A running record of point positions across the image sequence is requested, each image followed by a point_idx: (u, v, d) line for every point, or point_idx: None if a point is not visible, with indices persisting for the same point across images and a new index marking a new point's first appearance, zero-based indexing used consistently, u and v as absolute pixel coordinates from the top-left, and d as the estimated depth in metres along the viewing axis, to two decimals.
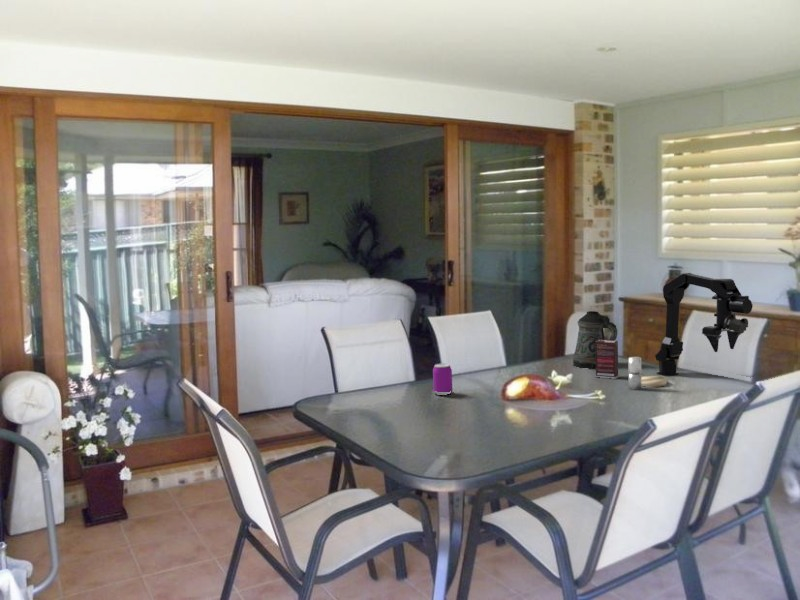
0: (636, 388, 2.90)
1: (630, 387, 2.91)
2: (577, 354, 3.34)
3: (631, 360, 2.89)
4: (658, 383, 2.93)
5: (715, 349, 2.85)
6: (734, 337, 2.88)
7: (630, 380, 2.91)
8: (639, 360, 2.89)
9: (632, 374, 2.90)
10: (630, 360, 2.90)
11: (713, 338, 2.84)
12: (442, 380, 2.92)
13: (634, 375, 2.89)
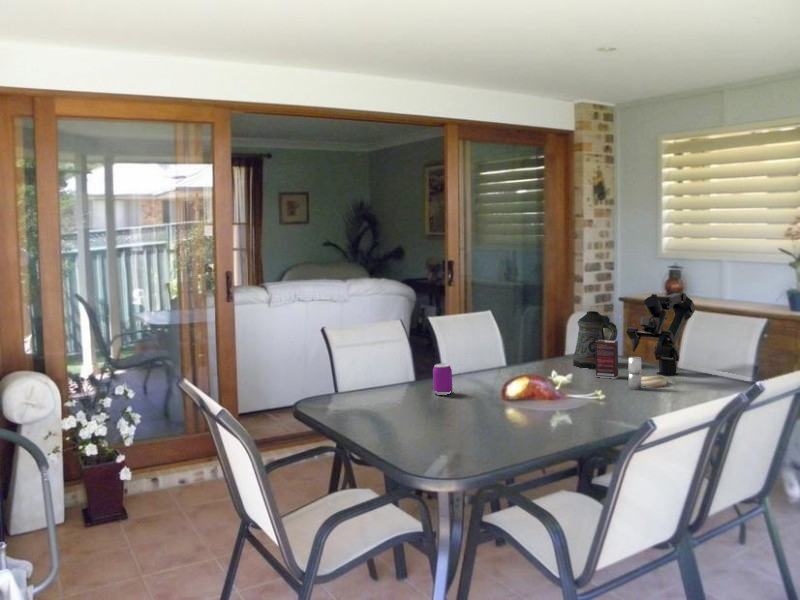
0: (636, 388, 2.90)
1: (630, 387, 2.91)
2: (577, 354, 3.34)
3: (631, 360, 2.89)
4: (658, 383, 2.93)
5: None
6: None
7: (630, 380, 2.91)
8: (639, 360, 2.89)
9: (632, 374, 2.90)
10: (630, 360, 2.90)
11: None
12: (442, 380, 2.92)
13: (634, 375, 2.89)
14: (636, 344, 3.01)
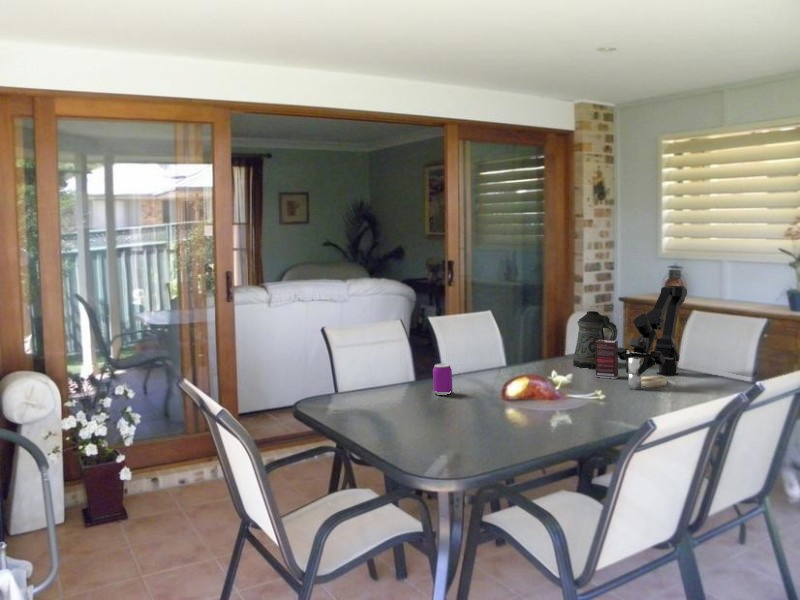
0: (636, 388, 2.90)
1: (630, 387, 2.91)
2: (577, 354, 3.34)
3: (631, 360, 2.89)
4: (658, 383, 2.93)
5: None
6: None
7: (630, 380, 2.91)
8: (639, 360, 2.89)
9: (632, 374, 2.90)
10: (630, 360, 2.90)
11: None
12: (442, 380, 2.92)
13: (634, 375, 2.89)
14: None
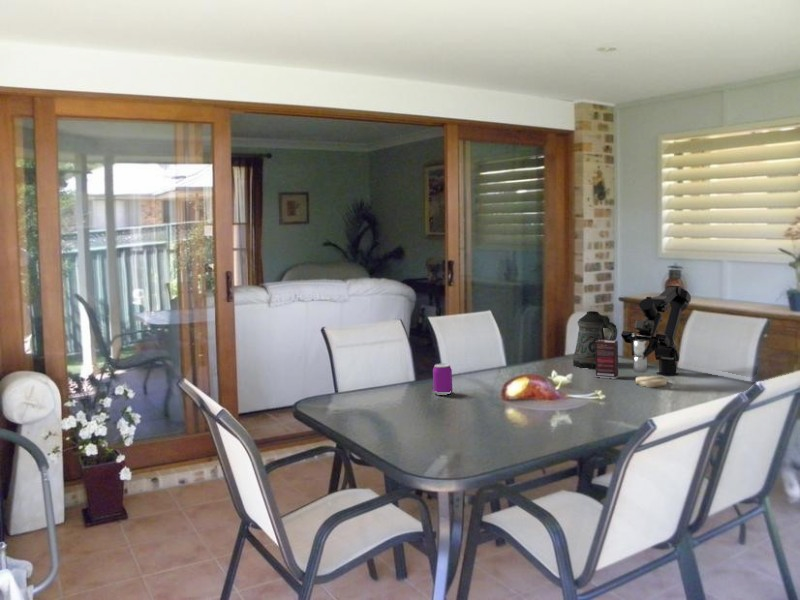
0: (642, 371, 2.91)
1: (636, 370, 2.93)
2: (577, 354, 3.34)
3: (636, 343, 2.91)
4: (658, 383, 2.93)
5: None
6: None
7: (635, 363, 2.92)
8: (644, 343, 2.90)
9: (637, 357, 2.91)
10: (635, 343, 2.91)
11: None
12: (442, 380, 2.92)
13: (639, 358, 2.91)
14: None
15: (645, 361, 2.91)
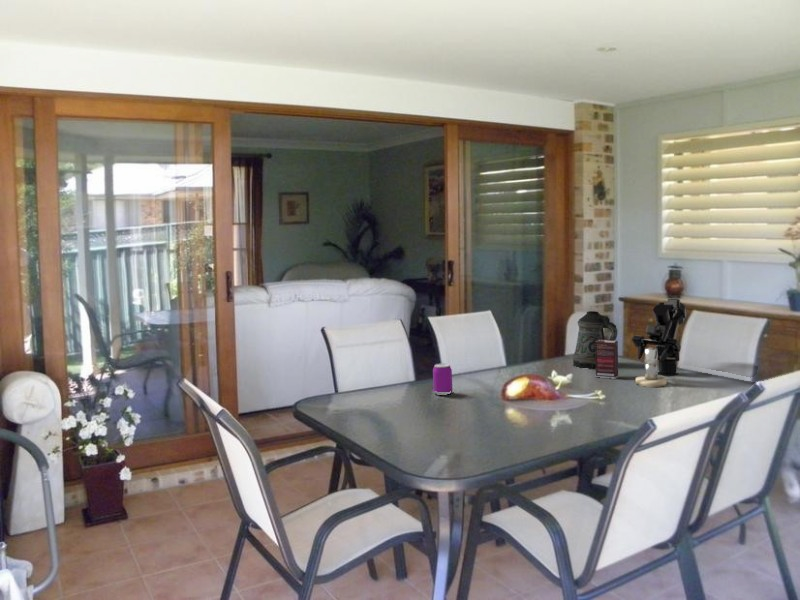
0: (652, 379, 2.96)
1: (646, 377, 2.98)
2: (577, 354, 3.34)
3: (647, 351, 2.96)
4: (658, 383, 2.93)
5: None
6: None
7: (646, 370, 2.97)
8: (655, 351, 2.95)
9: (648, 364, 2.96)
10: (646, 351, 2.96)
11: None
12: (442, 380, 2.92)
13: (650, 366, 2.96)
14: (642, 352, 3.02)
15: (656, 369, 2.96)
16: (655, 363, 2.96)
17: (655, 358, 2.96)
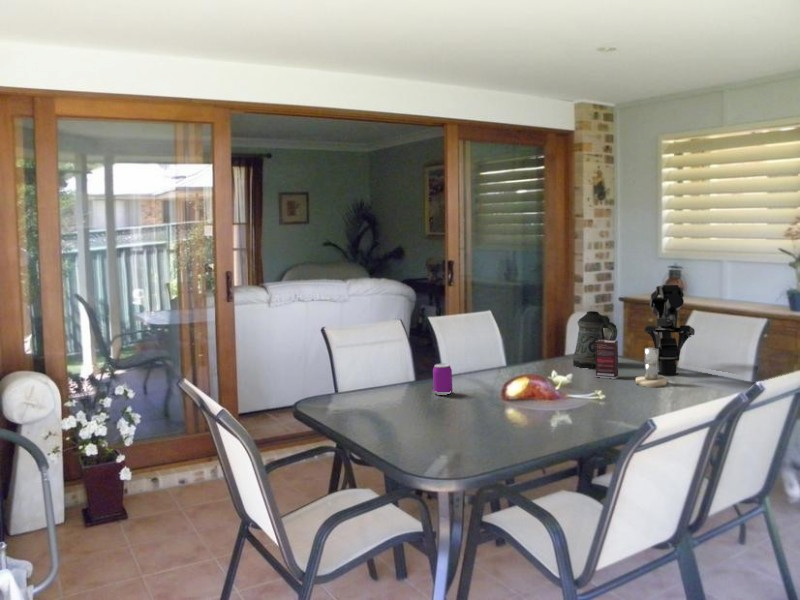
0: (652, 379, 2.96)
1: (646, 377, 2.98)
2: (577, 354, 3.34)
3: (647, 351, 2.96)
4: (658, 383, 2.93)
5: None
6: None
7: (646, 370, 2.97)
8: (655, 351, 2.95)
9: (648, 365, 2.96)
10: (646, 351, 2.96)
11: None
12: (442, 380, 2.92)
13: (650, 366, 2.96)
14: (657, 341, 3.02)
15: (656, 369, 2.96)
16: (655, 363, 2.96)
17: (655, 358, 2.96)
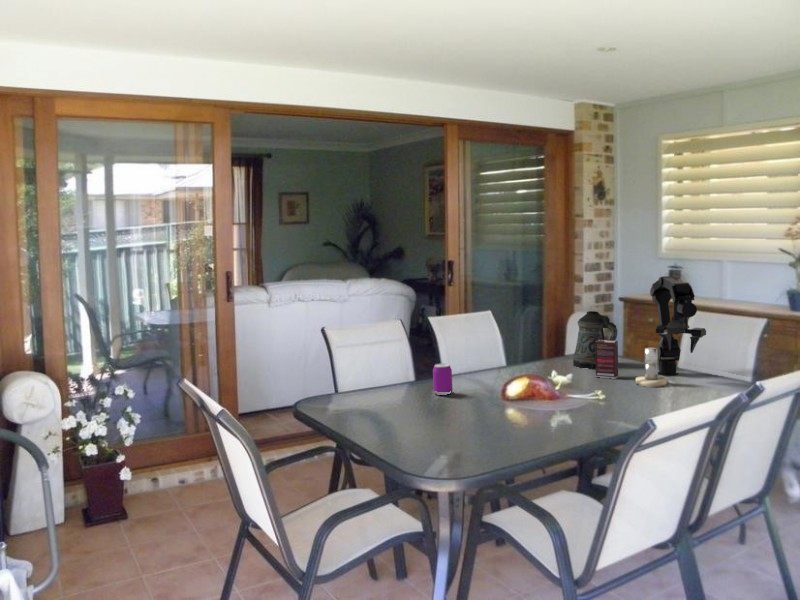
0: (652, 379, 2.96)
1: (646, 377, 2.98)
2: (577, 354, 3.34)
3: (647, 351, 2.96)
4: (658, 383, 2.93)
5: None
6: None
7: (646, 370, 2.97)
8: (655, 351, 2.95)
9: (648, 365, 2.96)
10: (646, 351, 2.96)
11: None
12: (442, 380, 2.92)
13: (650, 366, 2.96)
14: (669, 341, 3.00)
15: (656, 369, 2.96)
16: (655, 363, 2.96)
17: (655, 358, 2.96)
